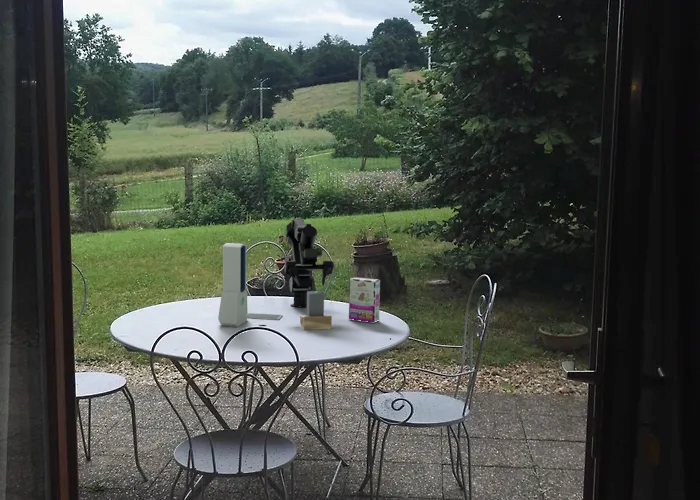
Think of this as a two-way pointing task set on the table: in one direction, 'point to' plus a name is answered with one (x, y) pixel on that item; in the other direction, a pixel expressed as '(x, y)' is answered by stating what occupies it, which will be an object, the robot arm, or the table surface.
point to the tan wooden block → (315, 322)
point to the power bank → (315, 303)
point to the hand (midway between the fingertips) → (311, 285)
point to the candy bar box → (364, 299)
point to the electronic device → (233, 286)
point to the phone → (264, 316)
